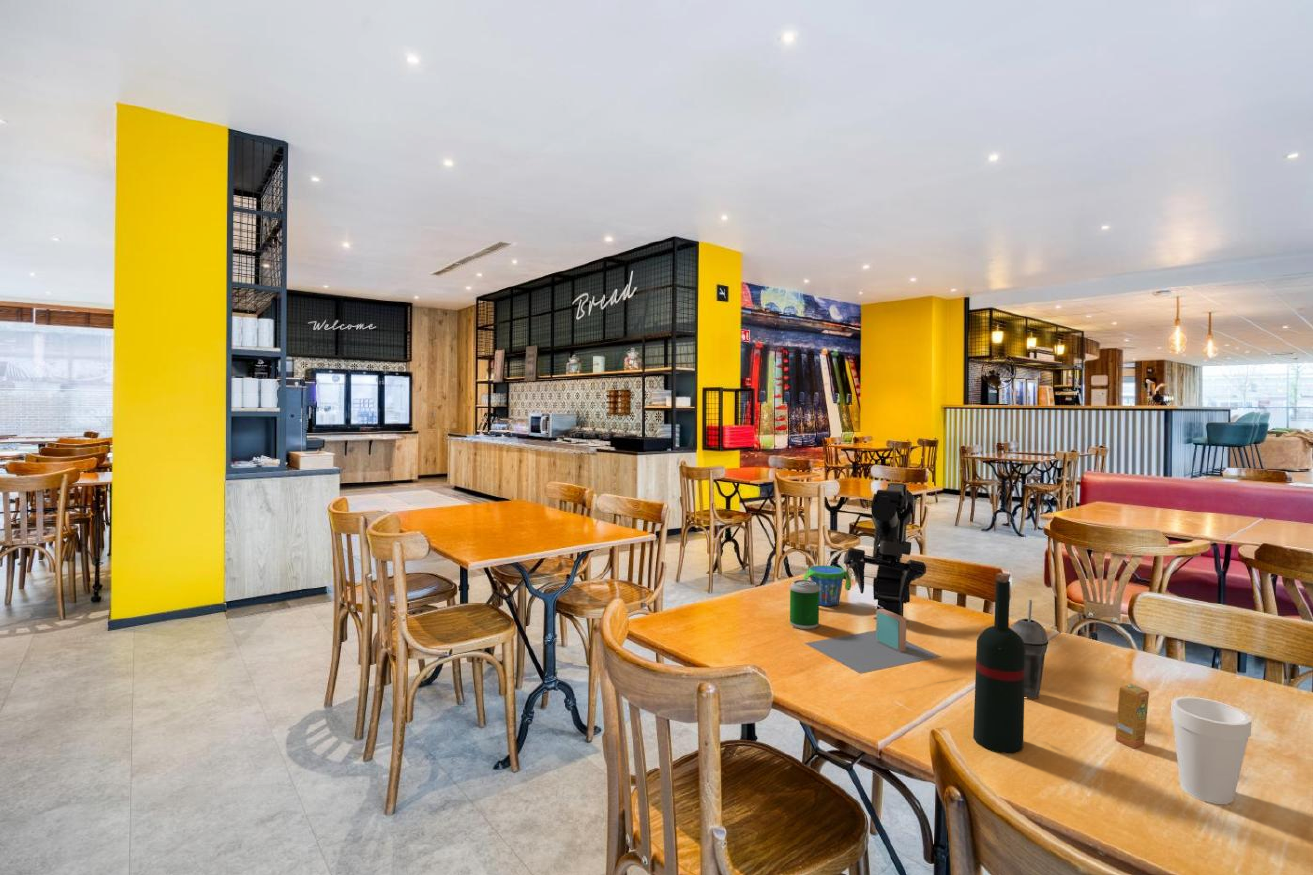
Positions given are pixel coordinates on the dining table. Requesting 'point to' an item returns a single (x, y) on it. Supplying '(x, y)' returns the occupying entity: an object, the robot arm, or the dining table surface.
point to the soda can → (804, 604)
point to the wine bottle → (1000, 680)
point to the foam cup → (1209, 747)
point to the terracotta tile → (891, 630)
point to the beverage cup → (1032, 652)
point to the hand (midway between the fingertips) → (881, 597)
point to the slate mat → (869, 652)
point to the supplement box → (1132, 715)
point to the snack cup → (828, 583)
